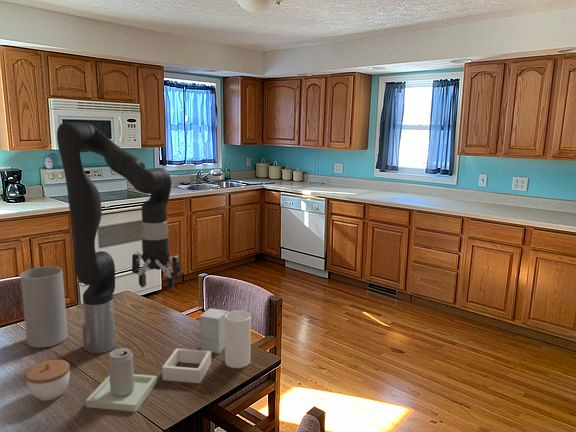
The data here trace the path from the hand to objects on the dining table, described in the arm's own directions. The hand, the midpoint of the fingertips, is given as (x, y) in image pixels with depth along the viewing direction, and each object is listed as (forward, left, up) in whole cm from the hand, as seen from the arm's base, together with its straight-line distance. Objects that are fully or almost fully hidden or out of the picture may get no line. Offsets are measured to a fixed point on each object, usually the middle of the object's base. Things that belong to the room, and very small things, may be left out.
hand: (156, 287), depth 131 cm
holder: (+10, -1, -27) cm, 28 cm away
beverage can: (-5, -15, -26) cm, 30 cm away
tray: (-4, -15, -27) cm, 31 cm away
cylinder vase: (-45, +11, -27) cm, 54 cm away
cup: (+24, +7, -27) cm, 36 cm away
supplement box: (+14, +15, -27) cm, 34 cm away
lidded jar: (-24, -18, -27) cm, 40 cm away
